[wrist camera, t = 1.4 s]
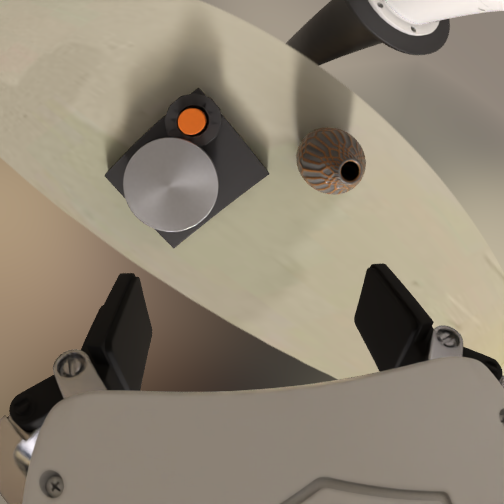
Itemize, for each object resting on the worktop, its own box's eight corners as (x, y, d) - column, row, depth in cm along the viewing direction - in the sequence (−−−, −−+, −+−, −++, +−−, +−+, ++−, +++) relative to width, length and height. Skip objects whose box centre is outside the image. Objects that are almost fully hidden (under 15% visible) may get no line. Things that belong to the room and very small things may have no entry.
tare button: (195, 103, 25) (193, 102, 23) (211, 122, 26) (210, 122, 24) (174, 119, 25) (172, 120, 24) (191, 138, 26) (189, 140, 25)
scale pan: (175, 116, 25) (174, 116, 24) (238, 190, 29) (238, 192, 28) (107, 182, 27) (105, 183, 26) (168, 246, 31) (167, 249, 31)
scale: (200, 85, 26) (197, 83, 23) (269, 169, 31) (273, 175, 29) (107, 171, 29) (97, 177, 27) (175, 243, 34) (171, 255, 32)
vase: (323, 113, 28) (356, 116, 21) (357, 158, 31) (396, 176, 24) (277, 152, 30) (296, 167, 23) (315, 194, 33) (343, 223, 25)
